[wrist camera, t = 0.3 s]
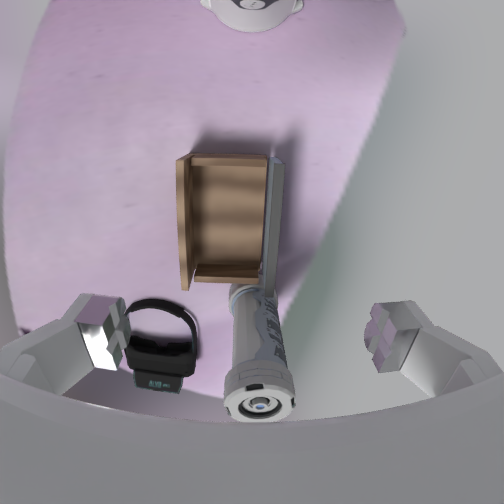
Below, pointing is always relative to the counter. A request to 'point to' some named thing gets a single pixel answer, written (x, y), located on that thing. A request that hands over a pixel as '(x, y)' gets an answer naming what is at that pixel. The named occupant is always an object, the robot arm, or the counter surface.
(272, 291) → the panel
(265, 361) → the canister
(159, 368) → the virtual reality headset
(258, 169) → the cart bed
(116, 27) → the counter surface
